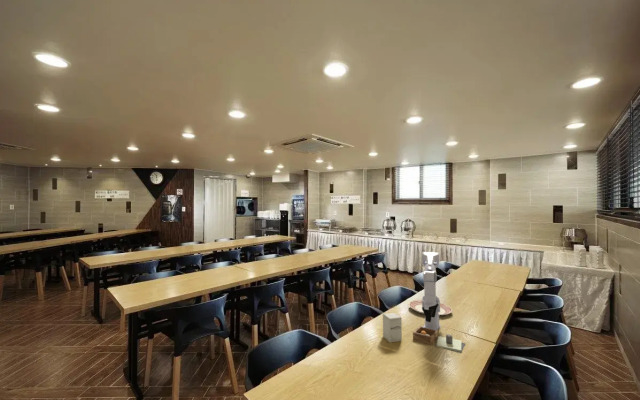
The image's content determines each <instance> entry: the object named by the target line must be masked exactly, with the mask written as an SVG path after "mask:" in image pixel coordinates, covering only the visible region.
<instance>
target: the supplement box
mask: <svg viewBox="0 0 640 400" xmlns="http://www.w3.org/2000/svg"><path fill="white" fill-rule="evenodd" d="M402 331H403V330H402V316H400V315H398V314H397V313H395V312H390V313H382V336H383V338H384V339H385V340H386V341H387V342H389V343H394V342H395V343H396V342H402V339H403V338H402V334H403V333H402Z"/></svg>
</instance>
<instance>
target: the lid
mask: <svg viewBox="0 0 640 400" xmlns="http://www.w3.org/2000/svg"><path fill="white" fill-rule="evenodd" d="M436 343H437V346H436V347H437V348H440V349H441V348H442V349H444V348H445V349H444V350H448V349H450V350H449V351H451V350H455V351H459V352H461V345H462V343H463V340H460V339H455V338H453V335H451V334H445V336H440V335H438V339H437V340H436ZM461 353H462V352H461Z"/></svg>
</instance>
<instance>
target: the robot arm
mask: <svg viewBox="0 0 640 400" xmlns="http://www.w3.org/2000/svg"><path fill="white" fill-rule="evenodd" d="M421 260H422V261H421V262H422V266H423V267H424V271H423V273H422V276H423V277H422V279H423V285H424V287H423V288H424V290H423V293H424V295H423V296H422V298H421V300H422V310H423V312H424V314H423V315H424V325H423V326H422V327H425V328H429V329H433V330H436V331H439V329H440V328H441V327H442V325H441V324H440V316H439V312H440V303H441V300H440V298H439V296H437V291H436V289H437V288H436V286H437V285H436V283H437V271H436V270H437V269H436V268H439V265H440V253H439V252H430V251H422V253H421Z"/></svg>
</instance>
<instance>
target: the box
mask: <svg viewBox="0 0 640 400" xmlns="http://www.w3.org/2000/svg"><path fill="white" fill-rule="evenodd" d="M421 331H425V332H426V333H427V334H428V335H430V336H427V335H424V334H421ZM438 336H439V330H437V331H436V330H433V329H429V328H425V327H423V326H420V325H419V326H418V327H416V329H415V330H414V331H413V332H412V340H415V341H418V342H420V343H425V344H426V345H430V346H433V345H435V344H436V342H437V341H438Z"/></svg>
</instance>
